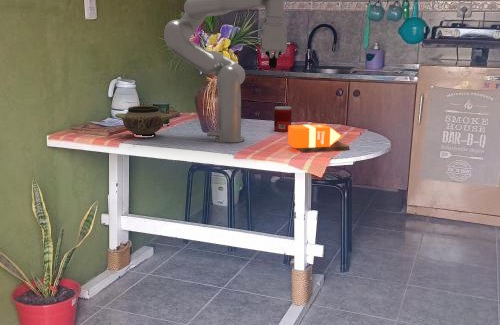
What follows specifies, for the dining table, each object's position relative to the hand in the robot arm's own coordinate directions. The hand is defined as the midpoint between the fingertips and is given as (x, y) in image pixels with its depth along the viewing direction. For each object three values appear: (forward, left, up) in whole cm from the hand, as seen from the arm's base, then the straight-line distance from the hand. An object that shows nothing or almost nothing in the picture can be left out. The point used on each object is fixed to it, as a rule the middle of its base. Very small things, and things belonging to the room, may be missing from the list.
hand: (272, 67), depth 243 cm
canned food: (+14, +26, -31) cm, 43 cm away
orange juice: (+3, -16, -26) cm, 31 cm away
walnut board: (+16, -14, -31) cm, 37 cm away
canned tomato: (-39, +53, -31) cm, 73 cm away
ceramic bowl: (-50, +25, -31) cm, 64 cm away
